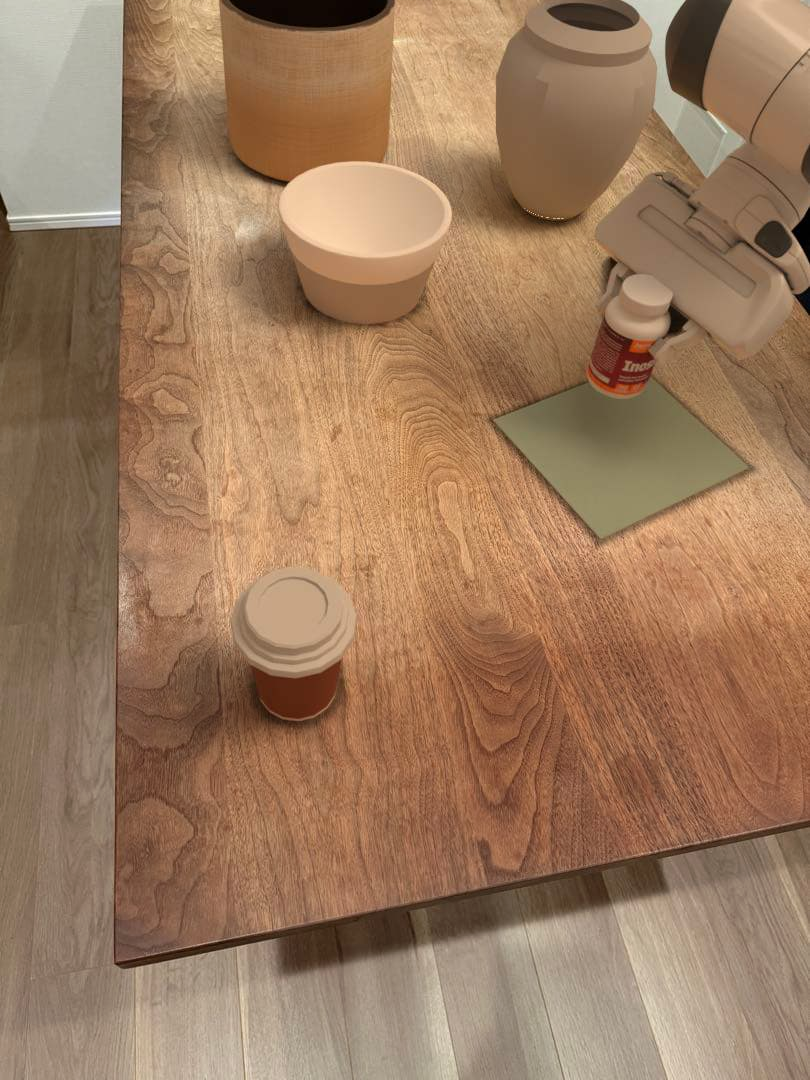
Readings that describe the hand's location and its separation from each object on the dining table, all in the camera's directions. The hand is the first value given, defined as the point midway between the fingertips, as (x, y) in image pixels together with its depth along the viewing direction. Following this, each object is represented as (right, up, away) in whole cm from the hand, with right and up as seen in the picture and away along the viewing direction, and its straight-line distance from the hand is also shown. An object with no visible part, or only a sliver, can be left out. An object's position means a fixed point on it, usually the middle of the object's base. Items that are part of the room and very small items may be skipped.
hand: (627, 335), depth 84 cm
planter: (-35, +35, +40) cm, 64 cm away
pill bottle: (0, -3, +5) cm, 6 cm away
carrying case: (+9, +10, +24) cm, 28 cm away
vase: (-2, +26, +36) cm, 44 cm away
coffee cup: (-30, -32, -12) cm, 45 cm away
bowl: (-26, +11, +21) cm, 36 cm away
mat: (+1, -10, +8) cm, 13 cm away
